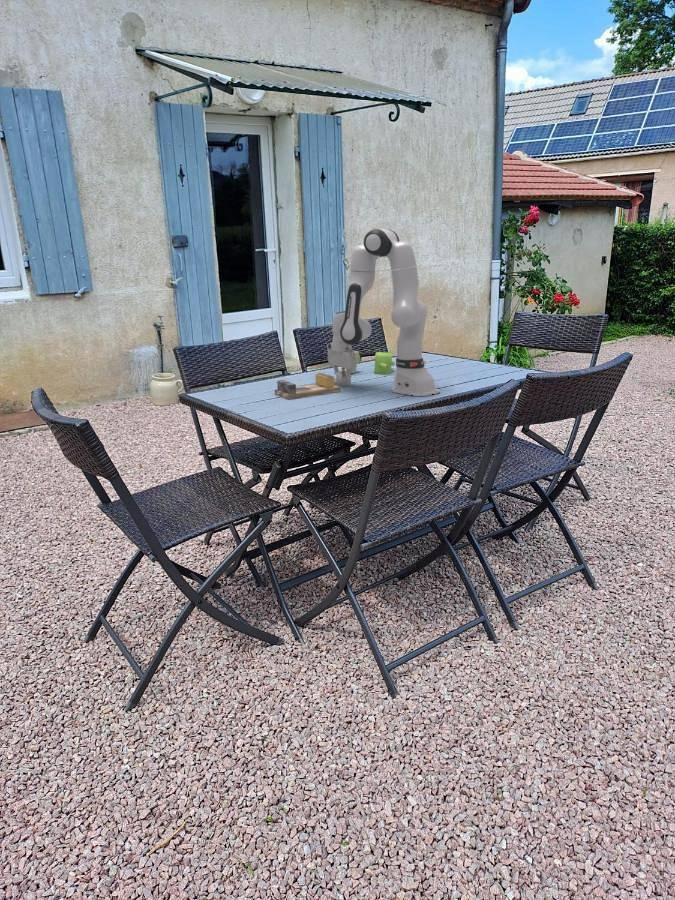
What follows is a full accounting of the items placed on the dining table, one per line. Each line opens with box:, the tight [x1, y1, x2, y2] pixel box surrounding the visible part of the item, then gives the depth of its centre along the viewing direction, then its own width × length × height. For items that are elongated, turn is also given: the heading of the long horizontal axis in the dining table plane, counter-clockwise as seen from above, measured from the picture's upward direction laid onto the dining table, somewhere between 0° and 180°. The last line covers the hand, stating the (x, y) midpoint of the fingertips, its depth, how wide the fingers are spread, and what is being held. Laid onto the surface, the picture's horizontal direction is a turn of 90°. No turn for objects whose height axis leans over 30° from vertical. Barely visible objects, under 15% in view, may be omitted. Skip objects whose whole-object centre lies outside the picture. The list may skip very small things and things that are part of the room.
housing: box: [335, 367, 352, 387], centre depth 313 cm, size 5×5×8 cm
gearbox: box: [374, 351, 396, 375], centre depth 339 cm, size 18×10×10 cm, turn 175°
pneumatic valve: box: [351, 349, 363, 375], centre depth 338 cm, size 6×12×12 cm, turn 136°
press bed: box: [274, 379, 342, 401], centre depth 298 cm, size 14×26×6 cm, turn 121°
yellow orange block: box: [315, 372, 335, 387], centre depth 302 cm, size 10×4×5 cm, turn 31°
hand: (342, 376), depth 313 cm, fingers open, 8 cm apart
